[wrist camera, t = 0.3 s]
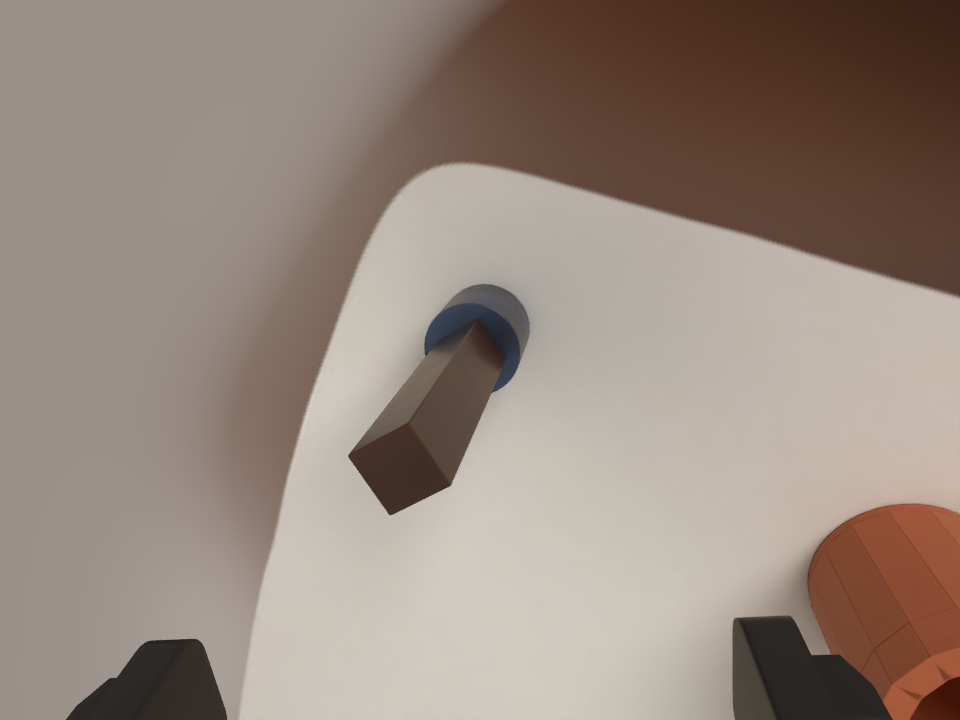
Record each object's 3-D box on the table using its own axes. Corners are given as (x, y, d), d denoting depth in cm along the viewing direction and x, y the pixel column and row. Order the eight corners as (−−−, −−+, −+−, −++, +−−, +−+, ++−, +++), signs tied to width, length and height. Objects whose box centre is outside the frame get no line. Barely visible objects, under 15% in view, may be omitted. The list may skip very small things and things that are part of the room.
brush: (426, 311, 36) (299, 442, 21) (499, 267, 35) (417, 375, 20) (472, 382, 37) (381, 556, 22) (545, 343, 36) (500, 500, 21)
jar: (777, 545, 37) (833, 687, 28) (959, 474, 34) (1091, 606, 25) (852, 674, 39) (928, 848, 30) (1032, 617, 36) (1179, 791, 27)
